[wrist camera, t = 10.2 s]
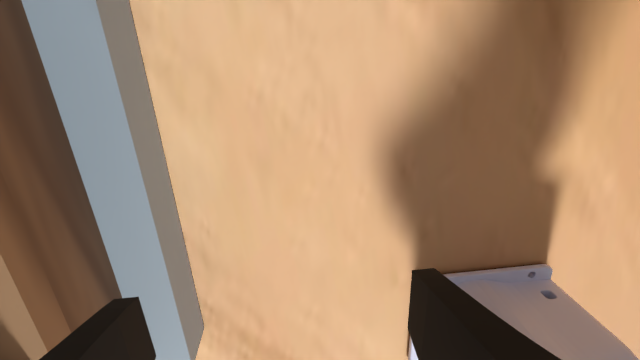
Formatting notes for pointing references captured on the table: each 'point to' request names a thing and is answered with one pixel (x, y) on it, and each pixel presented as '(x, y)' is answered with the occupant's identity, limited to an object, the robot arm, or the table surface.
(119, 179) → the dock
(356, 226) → the table surface
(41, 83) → the tan open box
